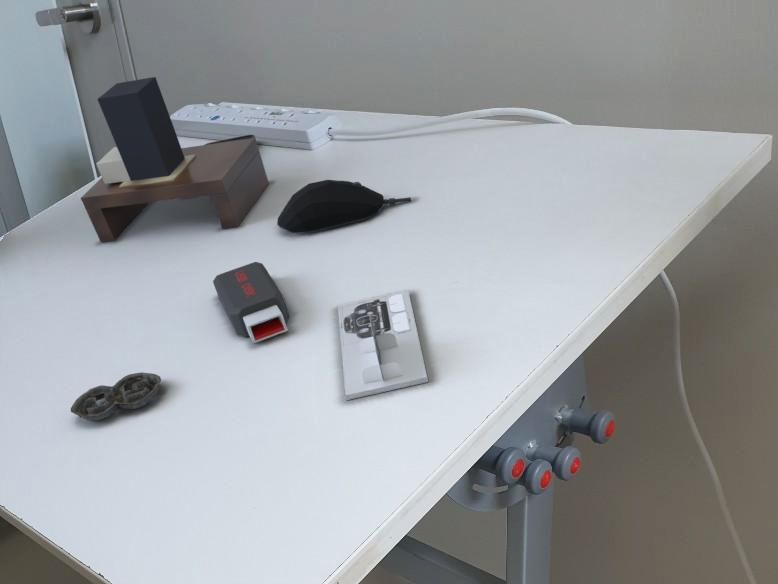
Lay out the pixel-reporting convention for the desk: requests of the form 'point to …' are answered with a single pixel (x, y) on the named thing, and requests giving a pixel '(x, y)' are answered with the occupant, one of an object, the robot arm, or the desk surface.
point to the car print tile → (380, 345)
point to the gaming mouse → (330, 206)
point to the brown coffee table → (184, 187)
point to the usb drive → (252, 301)
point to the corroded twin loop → (117, 396)
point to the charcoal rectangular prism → (138, 133)
